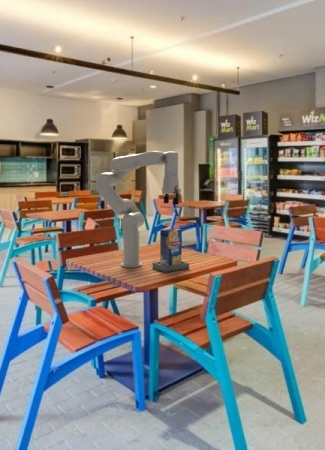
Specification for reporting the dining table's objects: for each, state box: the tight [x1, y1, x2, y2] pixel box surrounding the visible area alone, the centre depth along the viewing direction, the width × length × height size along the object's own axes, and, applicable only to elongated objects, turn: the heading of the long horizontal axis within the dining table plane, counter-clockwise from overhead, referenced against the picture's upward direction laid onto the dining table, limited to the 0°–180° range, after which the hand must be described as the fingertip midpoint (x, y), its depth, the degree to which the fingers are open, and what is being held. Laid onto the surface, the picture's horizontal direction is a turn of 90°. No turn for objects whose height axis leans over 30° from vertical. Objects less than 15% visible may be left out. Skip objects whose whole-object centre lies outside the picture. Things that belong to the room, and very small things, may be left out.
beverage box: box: [159, 227, 183, 266], centre depth 245 cm, size 7×11×22 cm, turn 138°
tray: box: [152, 260, 190, 274], centre depth 246 cm, size 13×17×4 cm
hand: (171, 203), depth 241 cm, fingers open, 9 cm apart
